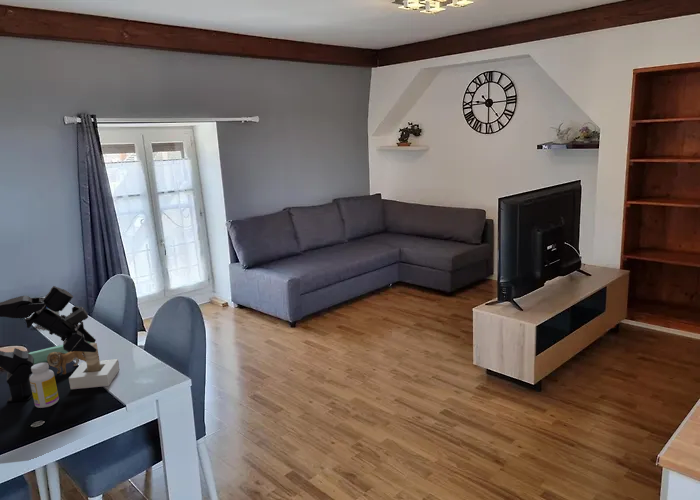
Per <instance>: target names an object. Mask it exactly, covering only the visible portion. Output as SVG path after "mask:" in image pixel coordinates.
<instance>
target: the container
mask: <svg viewBox="0 0 700 500" xmlns="http://www.w3.org/2000/svg"><path fill="white" fill-rule="evenodd" d="M92 337H93V338H94V339H95V337H94V336H92ZM88 343H93V342H88ZM94 343H96V341H95V342H94ZM52 352H61V353H65V354H66V353H68V352H67V351H66V350H64V348H63V344H60V345H56V346H52V347H51V346H50V347H47V348H42V349H39V350H35V351H30V352H28V354H30V355H32V357H33V358H34V365H35V364H38V363H44V362H45V363H48V361H47V356H48V355H49V353H52ZM84 353H85V352H84Z"/></svg>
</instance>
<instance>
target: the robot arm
mask: <svg viewBox="0 0 700 500" xmlns="http://www.w3.org/2000/svg"><path fill="white" fill-rule="evenodd" d="M73 298H74V295H72V294H71V292H69V291H67V290H66V289H63V288H60V287H57V286H56V285H53V286H52V287H51V288H50V290H49V292H48V293H47V294H46V295H45V296H43V297H42V296H41V297H40V296H39V297H30V296H29V295H28V296H27V295H21V296H16V297H12V298H10V299H6V300H4V301H0V318H9V319H24V321H25V323H26V328H27V329H29V328H31V327H32V325H33V324H35V325H36V326H39V327H40V328H42V329H44V330H46V331H47V332H49V333H48V334H49V335H51V336H52V335H55V336H57V337H59V338H60V340H61V341H62V345H63V348H64V350H66V351H67V352H70V351H71V352H73V351H82V352H96V350H97V349H96V348H95V347H93V346H92V345H91V344H89V343H88V342H93V343H94V342H95V343H96V340H97V339H96V338H95V337H94V336H93V335H92V334H90V332H89V331H87V330H86V329H85V326H84V322H83V321H86V320H87V319H88V318H89V314H88V312H87V311H86V310H85V308H84V307H83V306H77V305H75V306H72V307H71V312H70V313H69V314H68V315H64V314H61V315H60V316H59V315H58V314H56V313H54V312H59V313H60V312H62V311H63V310H64V309H65V308H66V307H67V305H68V304H69V303H70V302H71V300H73ZM46 307H47V308H49V309H50V310H49V309H47V308H46ZM51 310H52V311H54V312H52V311H51ZM93 337H94V338H93ZM28 353H29V351H27V350H21V349H19V348H15V347H14V349H13V351H7V352H6V351H3V350H0V368H1V369H3V370H4V371H6V372H7V373H6V383H7V385H8V387H9V393H10V397H9V398H7V400H6V402H7V403H12V402H22V401H23V402H24V401H29V400H30V399H31V398H33V394H32V389H31V385H30V380H29V378H30V376H31V375H32V374H33V373H32V371H31V367H32V366H33V365H34V358H33V357H32V355H30V354H28Z"/></svg>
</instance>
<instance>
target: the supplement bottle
mask: <svg viewBox="0 0 700 500" xmlns="http://www.w3.org/2000/svg"><path fill="white" fill-rule="evenodd" d="M49 368H50V365H49V363H48V362H44V363H38V364H35V365H33V366H32V367H31V371H32V373H31V374H30V375H29V380H30V385H31V389H32V394H33V396H32V398H33V399H32V400H33V403H34V406H35V407H36V408H38V409H39V408H40V409H41V408H42V409H43V408H49V407H51V406H54V405H55V404H57V403H58V402H59V399H60V397H59V391H58V387H57V382H56V377H55V372H54V371H53V370H52V369H49Z"/></svg>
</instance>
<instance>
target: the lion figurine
mask: <svg viewBox="0 0 700 500" xmlns="http://www.w3.org/2000/svg"><path fill="white" fill-rule="evenodd" d="M74 360H75V363H74V364H73V365H72V366H73V367H76V366H78V365H79V363H80V361H83V362H86V357H85V353H84V352H82V351H73V352H71V351H70V352H68V353H66V354H65V353H61V352H52V353H49V355H48V356H47V361H48V362H47V363H48V364H49V367H53V368H56V369H57V372H56V374H60V373H61V372H62V374H61V375H66V374H67V370H66V367H67V364H70V363H71V362H73V361H74Z"/></svg>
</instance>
